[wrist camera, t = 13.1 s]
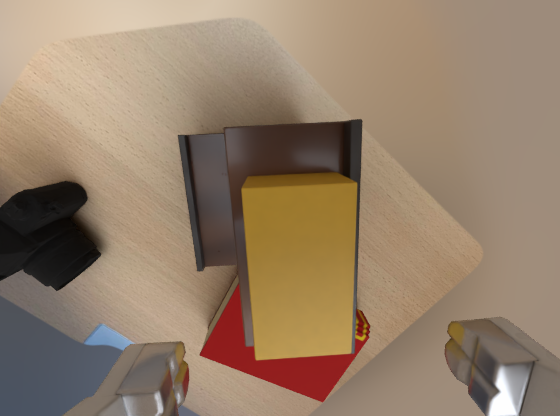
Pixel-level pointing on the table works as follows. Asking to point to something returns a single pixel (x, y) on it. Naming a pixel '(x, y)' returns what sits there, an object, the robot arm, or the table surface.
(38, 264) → the film camera
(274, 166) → the top shelf
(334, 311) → the yellow box
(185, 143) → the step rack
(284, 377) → the book
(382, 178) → the table surface
